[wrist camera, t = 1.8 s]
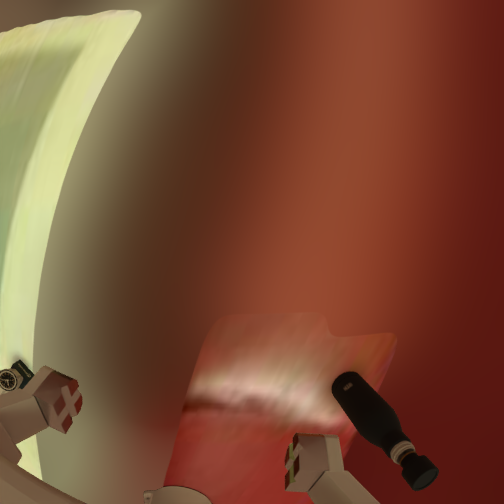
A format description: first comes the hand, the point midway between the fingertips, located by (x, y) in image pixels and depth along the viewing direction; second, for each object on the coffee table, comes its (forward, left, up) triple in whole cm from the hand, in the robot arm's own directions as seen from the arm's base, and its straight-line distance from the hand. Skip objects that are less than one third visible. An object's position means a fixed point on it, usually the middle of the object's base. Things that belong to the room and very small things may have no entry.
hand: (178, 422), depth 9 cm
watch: (-35, +36, -41) cm, 65 cm away
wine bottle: (-13, -29, -41) cm, 52 cm away
